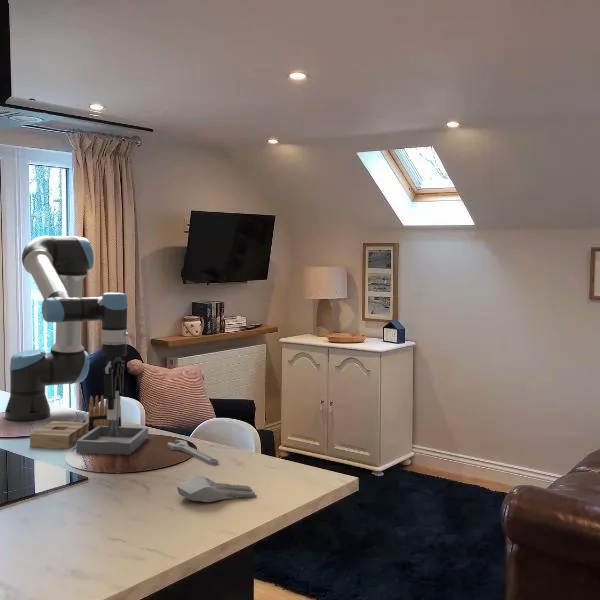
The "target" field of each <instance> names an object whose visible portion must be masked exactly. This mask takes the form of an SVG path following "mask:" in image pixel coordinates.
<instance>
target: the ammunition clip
mask: <svg viewBox="0 0 600 600" xmlns="http://www.w3.org/2000/svg"><path fill="white" fill-rule="evenodd" d="M99 400H100V403H99ZM121 410H122V406H121V404H120V417H119V427H122V413H121V412H122V411H121ZM87 423H88V432H90V431H91V430H93V429H94V428H96V427H97V426H109V420H107V399H104V394H102V395H101V396H100V399H99V395H96V396H95V399H94V398H93V396H92V395H90V397H89V405H88V422H87Z"/></svg>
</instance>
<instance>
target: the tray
mask: <svg viewBox="0 0 600 600" xmlns="http://www.w3.org/2000/svg"><path fill="white" fill-rule="evenodd" d="M146 439H147V440H148V439H149V427H136V426H135V427H134V426H121V427H119V435H118V436H116V437H110V436H109V426H97V427H96V428H94V429H93V430H91V431H90V432H89V431H88V433H87V434H85V435H84V436H82V437H81V438H80V439H78V440H77V441H76V444H75V446H76V447H75V449H76V450H75V452H76V453H82V454H83V453H85V454H101V453H103V454H104V455H120V454H125V455H124V456H131V455H132V454H133V453H134V452H135V451H136V450H137V449H139V447H141V445H143V444H142V443H143V442H144V441H145V440H146ZM147 440H146V441H147ZM146 441H145V442H146ZM145 442H144V443H145ZM135 449H136V450H135ZM134 450H135V451H134ZM133 451H134V452H133ZM132 452H133V453H132ZM128 454H129V455H128Z"/></svg>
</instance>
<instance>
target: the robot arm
mask: <svg viewBox="0 0 600 600" xmlns="http://www.w3.org/2000/svg"><path fill="white" fill-rule="evenodd" d="M93 251H94V250H93V248H92V245H91V243H90V240H89V239H87V238H86V237H82V236H75V235H74V236H70V235H69V236H68V235H67V236H66V235H63V236H62V235H59V236H58V235H57V236H56V235H42V236H38V237H35V238H34V239H32V240H31V241H29V242H28V243H27V244H26V246H25V247H24V249H23V251H22V253H21V262H22V266H23V268H24V269H25V271H26V272H27V273H28V274H30V275H31V277H32V278H33V281H34V283H35V284H36V287H37V289H38V290H39V293H40V294H41V296H42V299H43V300H42V302H41V314H42V318H43V321H45V322H47V323H55V343H54V344H53V345H51V347H50V352H49V353H48V352H46V351H45V350H44V349H39V348H38V349H27V350H23V351H19V352H17V353H14V354H13V355H12V356H11V357H10V363H9V365H10V366H9V370H10V371H9V373H10V374H9V375H10V376H9V379H10V380H9V381H10V382H9V385H10V386H9V387H10V389H9V390H10V396H9V398H8V402H7V404H6V406H5V407H6V408H5V410H4V418H5V419H7V420H9V421H16V422H29V421H37V420H38V421H40V420H43V419H47V418H48V417H50V416H51V407H50V404H49V401H48V399H47V396H46V386H56V385H57V386H58V385H59V386H61V385H73V384H78V383H79V384H80V383H82V382H84V380H85V379H86V378H87V377H88V374H89V370H90V356H89V353H88V352H87V351H85V347H84V346H83V345H82V344H81V329H82V322H101V343H102V344H101V356H102V357H106V363H105V366H103V367H102V372H103V398H104V400H106V399H107V420H116V406H117V399H115V394H116V390H118V391H119V417H120V405H121V396H122V397H123V396H124V394H125V393H124V376H125V374H124V373H125V365H126V361H125V360H122V357H125V356H127V355H128V354H127V353H128V344H127V343H126V342H127V340H128V339H127V337H128V336H129V332H128V307H129V304H128V296H127V294H126V293H124V292H104V293H102V295H96V296H93V297H92V296H90V297H88V296H87V297H83V280H84V279H85V278H86V277H87V276H88V271H90V270H92V268H93V267H94V263H95V262H94V261H95V260H94V252H93Z"/></svg>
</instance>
